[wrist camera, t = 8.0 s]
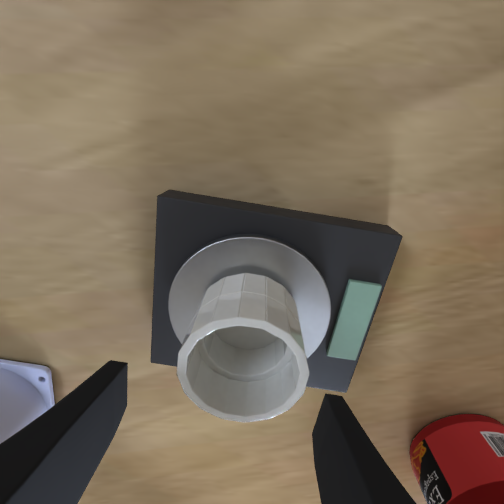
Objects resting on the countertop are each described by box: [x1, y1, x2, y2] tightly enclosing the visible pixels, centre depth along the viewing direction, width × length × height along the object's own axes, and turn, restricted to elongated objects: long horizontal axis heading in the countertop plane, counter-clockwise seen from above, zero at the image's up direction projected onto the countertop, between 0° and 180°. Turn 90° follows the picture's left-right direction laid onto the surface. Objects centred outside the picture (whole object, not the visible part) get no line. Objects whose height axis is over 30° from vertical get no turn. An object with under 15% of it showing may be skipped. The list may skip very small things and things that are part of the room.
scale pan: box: [168, 234, 331, 358], centre depth 17 cm, size 9×9×1 cm
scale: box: [151, 190, 402, 393], centre depth 18 cm, size 11×13×2 cm
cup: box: [177, 273, 309, 422], centre depth 14 cm, size 5×5×4 cm
